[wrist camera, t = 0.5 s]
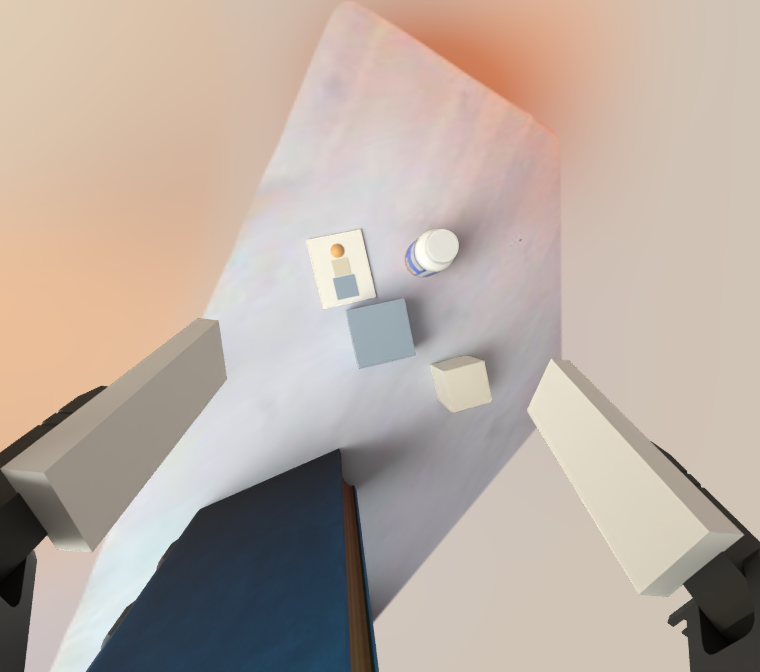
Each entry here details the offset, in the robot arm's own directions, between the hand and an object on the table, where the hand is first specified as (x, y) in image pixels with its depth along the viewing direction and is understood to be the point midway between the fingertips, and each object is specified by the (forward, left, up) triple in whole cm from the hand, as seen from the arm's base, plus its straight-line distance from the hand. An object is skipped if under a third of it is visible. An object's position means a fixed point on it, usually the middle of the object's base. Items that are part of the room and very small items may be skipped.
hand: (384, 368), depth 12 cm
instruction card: (+9, -1, -33) cm, 34 cm away
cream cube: (-11, -14, -33) cm, 37 cm away
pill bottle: (+8, -13, -33) cm, 36 cm away
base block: (-1, -4, -33) cm, 33 cm away
